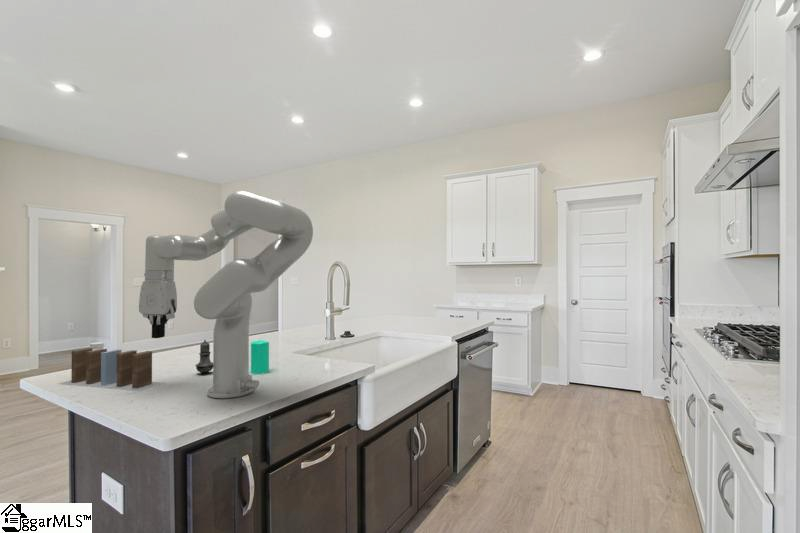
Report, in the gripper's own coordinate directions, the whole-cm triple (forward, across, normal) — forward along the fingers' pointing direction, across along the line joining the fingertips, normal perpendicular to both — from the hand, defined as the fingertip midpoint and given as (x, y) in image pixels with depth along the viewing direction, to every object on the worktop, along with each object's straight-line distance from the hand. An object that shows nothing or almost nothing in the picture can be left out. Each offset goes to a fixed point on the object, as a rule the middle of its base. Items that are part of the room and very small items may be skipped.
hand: (158, 337), depth 121 cm
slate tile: (+15, -18, 0) cm, 23 cm away
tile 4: (+15, -24, 0) cm, 28 cm away
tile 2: (+15, -12, 0) cm, 19 cm away
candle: (+15, +18, +25) cm, 35 cm away
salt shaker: (+15, +2, +17) cm, 23 cm away
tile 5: (+16, -30, 0) cm, 33 cm away
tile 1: (+15, -6, 0) cm, 16 cm away
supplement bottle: (+16, -38, +11) cm, 42 cm away
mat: (+16, -18, 0) cm, 24 cm away
